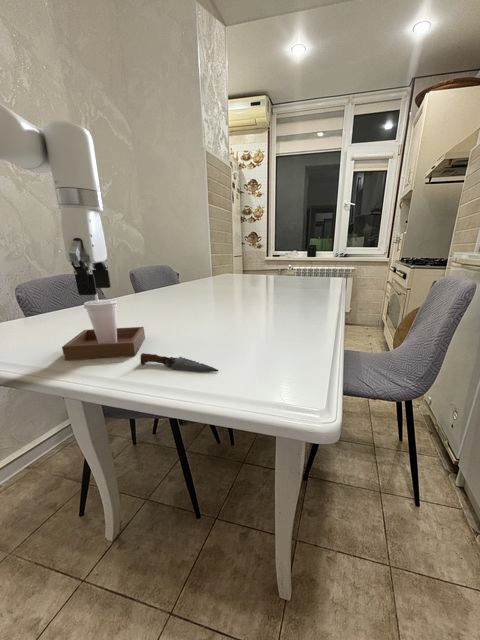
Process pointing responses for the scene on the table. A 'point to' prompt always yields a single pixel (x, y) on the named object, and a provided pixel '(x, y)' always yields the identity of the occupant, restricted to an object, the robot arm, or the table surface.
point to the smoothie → (103, 319)
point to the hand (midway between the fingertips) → (96, 291)
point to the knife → (177, 363)
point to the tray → (104, 344)
